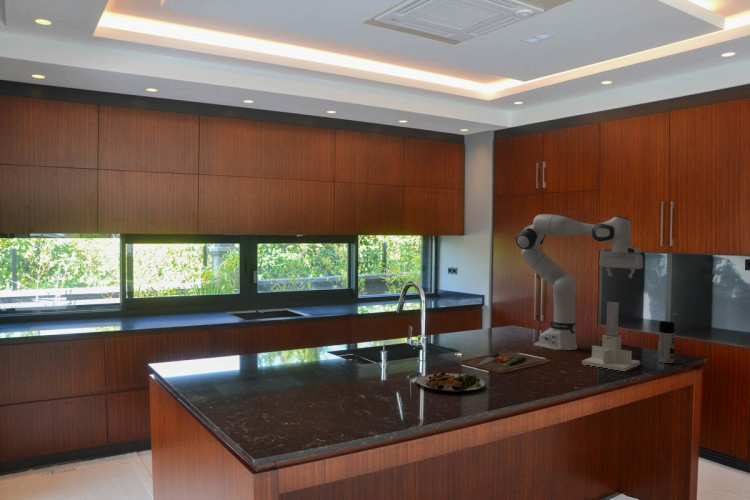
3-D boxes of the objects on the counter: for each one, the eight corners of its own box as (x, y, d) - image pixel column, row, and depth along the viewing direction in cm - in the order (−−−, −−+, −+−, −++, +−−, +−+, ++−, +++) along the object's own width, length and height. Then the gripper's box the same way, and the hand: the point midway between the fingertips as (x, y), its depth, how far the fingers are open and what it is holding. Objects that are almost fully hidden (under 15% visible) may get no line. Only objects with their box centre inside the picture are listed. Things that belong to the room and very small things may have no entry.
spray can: (672, 365, 276) (673, 323, 275) (656, 362, 280) (658, 322, 279) (674, 362, 281) (676, 321, 280) (659, 360, 285) (660, 320, 284)
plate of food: (499, 386, 233) (499, 371, 233) (456, 399, 214) (456, 383, 213) (445, 375, 253) (445, 362, 253) (402, 386, 234) (401, 371, 234)
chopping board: (498, 376, 251) (498, 369, 251) (452, 364, 271) (452, 358, 271) (555, 362, 280) (555, 356, 280) (510, 352, 300) (510, 347, 300)
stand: (581, 364, 273) (582, 335, 273) (598, 358, 288) (599, 330, 287) (624, 372, 260) (625, 341, 259) (640, 365, 274) (641, 336, 274)
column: (605, 340, 273) (606, 302, 272) (609, 339, 276) (610, 301, 275) (614, 341, 270) (615, 303, 270) (617, 340, 273) (618, 302, 273)
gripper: (597, 248, 288) (596, 276, 288) (640, 250, 274) (639, 278, 275) (602, 248, 293) (601, 275, 293) (644, 249, 279) (643, 278, 279)
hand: (620, 277), depth 284 cm, fingers open, 8 cm apart
